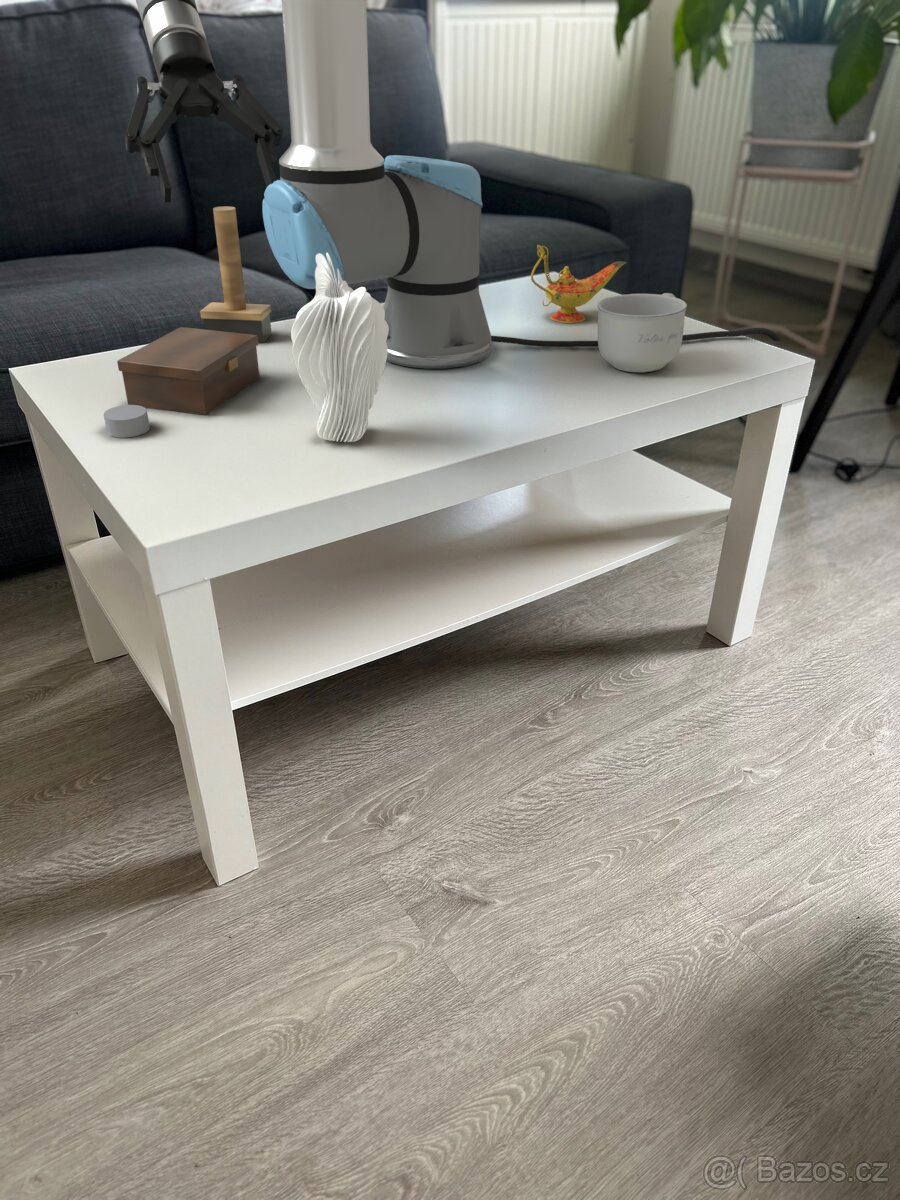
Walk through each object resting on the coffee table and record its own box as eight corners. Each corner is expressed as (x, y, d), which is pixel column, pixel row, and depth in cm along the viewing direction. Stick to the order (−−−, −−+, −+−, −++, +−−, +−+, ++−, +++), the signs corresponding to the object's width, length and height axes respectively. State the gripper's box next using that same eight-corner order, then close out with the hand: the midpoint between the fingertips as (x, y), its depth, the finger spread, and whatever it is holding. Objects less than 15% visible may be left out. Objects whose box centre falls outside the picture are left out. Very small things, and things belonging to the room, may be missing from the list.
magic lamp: (636, 312, 138) (645, 234, 133) (543, 331, 130) (549, 249, 124) (605, 301, 143) (612, 226, 137) (513, 320, 135) (517, 240, 129)
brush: (273, 333, 128) (261, 206, 119) (264, 343, 124) (251, 212, 115) (214, 331, 129) (198, 204, 120) (204, 340, 125) (186, 210, 116)
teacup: (641, 386, 112) (649, 319, 108) (574, 363, 119) (580, 299, 114) (710, 361, 120) (720, 299, 115) (643, 342, 126) (651, 281, 122)
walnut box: (263, 377, 113) (259, 335, 111) (208, 416, 103) (202, 370, 100) (186, 368, 116) (180, 326, 113) (125, 405, 105) (116, 360, 102)
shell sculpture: (375, 454, 94) (368, 272, 85) (297, 448, 95) (281, 267, 86) (393, 424, 101) (389, 252, 91) (320, 418, 102) (308, 248, 93)
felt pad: (116, 423, 96) (120, 441, 97) (154, 412, 98) (157, 429, 99) (95, 412, 98) (99, 429, 99) (132, 401, 101) (136, 418, 102)
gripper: (268, 71, 130) (309, 203, 127) (83, 74, 121) (122, 217, 118) (275, 28, 123) (319, 166, 120) (79, 28, 114) (120, 178, 111)
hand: (221, 192), depth 119 cm, fingers open, 13 cm apart
